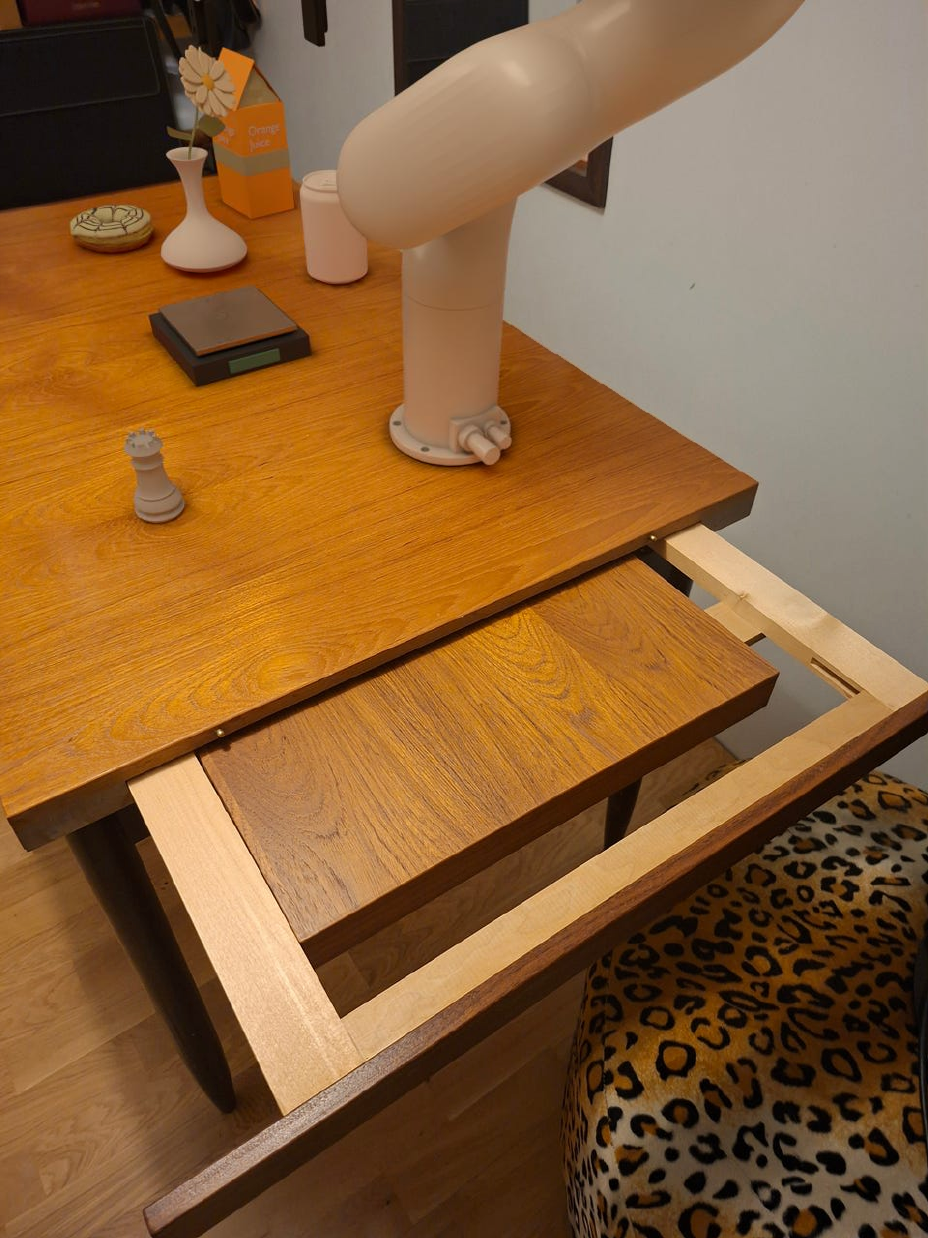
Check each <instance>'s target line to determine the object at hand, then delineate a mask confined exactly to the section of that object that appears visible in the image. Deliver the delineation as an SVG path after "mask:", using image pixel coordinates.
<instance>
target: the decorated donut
mask: <svg viewBox="0 0 928 1238" xmlns="http://www.w3.org/2000/svg"><path fill="white" fill-rule="evenodd" d="M69 226H70V227H69V229H70V235H71V237H72V238H73V239H74V240H75V242H76V244H77V245H78V246H80V247H82V248H85V249H87V250H89V251H96V252H97V253H102V252H105V253H117V252H120V253H122V252H130V251H132V250H136V249H138V248H141V247H142V245H146V243H147V242H148V241H149V239H150V237H151V235H152V234H153V230H154V222H153V221H152V218H151V213H149V212H148V211H147V210H145V209H143V208H141V207H138V206H135V205H131V204H106V205H101V206H100V205H99V206H95V207H92V208H90V209H88V210H85V211H82V212H81V213H79V214H77V215H76V216H75V217H74V218H72V219H71V220H70V222H69Z"/></svg>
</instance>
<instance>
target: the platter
mask: <svg viewBox="0 0 928 1238" xmlns="http://www.w3.org/2000/svg"><path fill="white" fill-rule="evenodd" d="M258 289H259V288H257V287H256V286H255V285H247V286H243V287H239V288H235V289H231V290H227V291H226V290H225V291H222V292H217V293H214V294H209V295H205V296H201V297H196V298H192V299H188V300H183V301H178V302H175V303H171V304H165V305H162V306H158V307H157V311H158V313H160V314H161V316H162V317H163V318H164V319H165V320H166V321H167V322H168V324H169V325H170V326H171V327H172V328H173V329H174V330H175V331H176V333H177V334H178V335H179V336H180V337H181V338H182V339H183V340H184V342H185V343H186V344H187V345H188V346H189V347H190V348H191V349H192V351H193V352H194V353H195V354H196V355H197V356H201V355H204V354H208V353H212V352H216V351H220V350H223V349H227V348H231V347H235V346H239V345H243V344H246V343H250V342H254V341H258V340H262V339H265V338H269V337H273V336H277V335H281V334H284V333H288V332H292V331H296V330H297V325H296V324H297V323H296V322H295V321H294V320H293V319H292V318H291V317H290V316H289V317H290V318H291V319H292V320H293V321H294V322H295V323H296V324H295V323H294V322H293V321H292V320H291V319H290V318H289V317H287V316H286V315H285V314H284V313H285V312H284V311H283V310H282V309H281V308H280V307H279V306H278V305H277V306H278V307H279V308H280V309H281V310H282V311H283V312H284V313H283V312H282V311H281V310H280V309H279V308H278V307H277V306H275V305H274V304H273V303H274V302H273V301H272V300H271V299H270V298H269V297H268V296H267V295H266V296H267V297H268V298H269V299H270V300H271V301H272V302H273V303H272V302H271V301H270V300H269V299H268V298H267V297H266V296H264V295H263V294H262V293H261V292H262V291H261V290H260V289H259V290H260V291H261V292H260V291H259V290H258Z"/></svg>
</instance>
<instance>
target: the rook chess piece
mask: <svg viewBox="0 0 928 1238" xmlns="http://www.w3.org/2000/svg"><path fill="white" fill-rule="evenodd" d="M137 431H138V433H136V431H134V430H132V431H130V432H128V434H127V435H128V436H125V444H124V446H123V451H124V452H125V454H126V455H127V456H129V457H131V458H132V459H131V460H130V465H131V466H132V468H134V471H135V476H136V484H137V485H136V488H135V492H134V494H133V505H134V513H135V515H137V517H138V518H140V519H142V520H144V521H145V522H148V523H151V524H162V523H167V522H170V521H172V520H174V519H175V518H178V517H179V516H180V514H181V512H183V509H184V508H185V499H184V498H183V494H182V491H181V490H180V488H179V487H178V485H177V484H175V483H174V481H172V480H171V479H170V477H169V476H168V473H167V471H166V469H165V466H164V461H165V456H164V455H163V454H162V453H161V450H162V448H163V445H164V442H163V441H162V439H161V438H160V437H158V436H157V433H155V430H152V429H150V428H149V429H148V430H147V432H146V430H145V428H138V430H137Z"/></svg>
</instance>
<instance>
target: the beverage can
mask: <svg viewBox="0 0 928 1238" xmlns="http://www.w3.org/2000/svg"><path fill="white" fill-rule="evenodd" d="M336 172H337V169H323V170H316V171H313V172H310V173H308V174H306V175H304V176H303V177H302V184H301V186H300V188H299V200H300V201H299V202H300V210H301V220H302V222H301V223H302V230H303V240H304V241H303V242H304V251H305V262H306V271H307V273H308V275H309V276H310V277H311V278H313V279H315V280H317V281H320V282H323V283H326V284H331V285H345V284H349V283H352V282H355V281H357V280H359V279H361V278H362V277H365V275H366V274H367V273H368V270H369V266H368V264H369V262H368V243H367V240H368V239H366V238H365V237H363V236H362V235H361V234H360V233H359V232H358V231H357V230H356V229H355V228H354V227H353V226H352V225H351V223H350V222H349V221H348V219H347V217H346V216H345V214H344V212H343V210H342V207H341V204H340V201H339V197H338V193H337V185H336Z"/></svg>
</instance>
